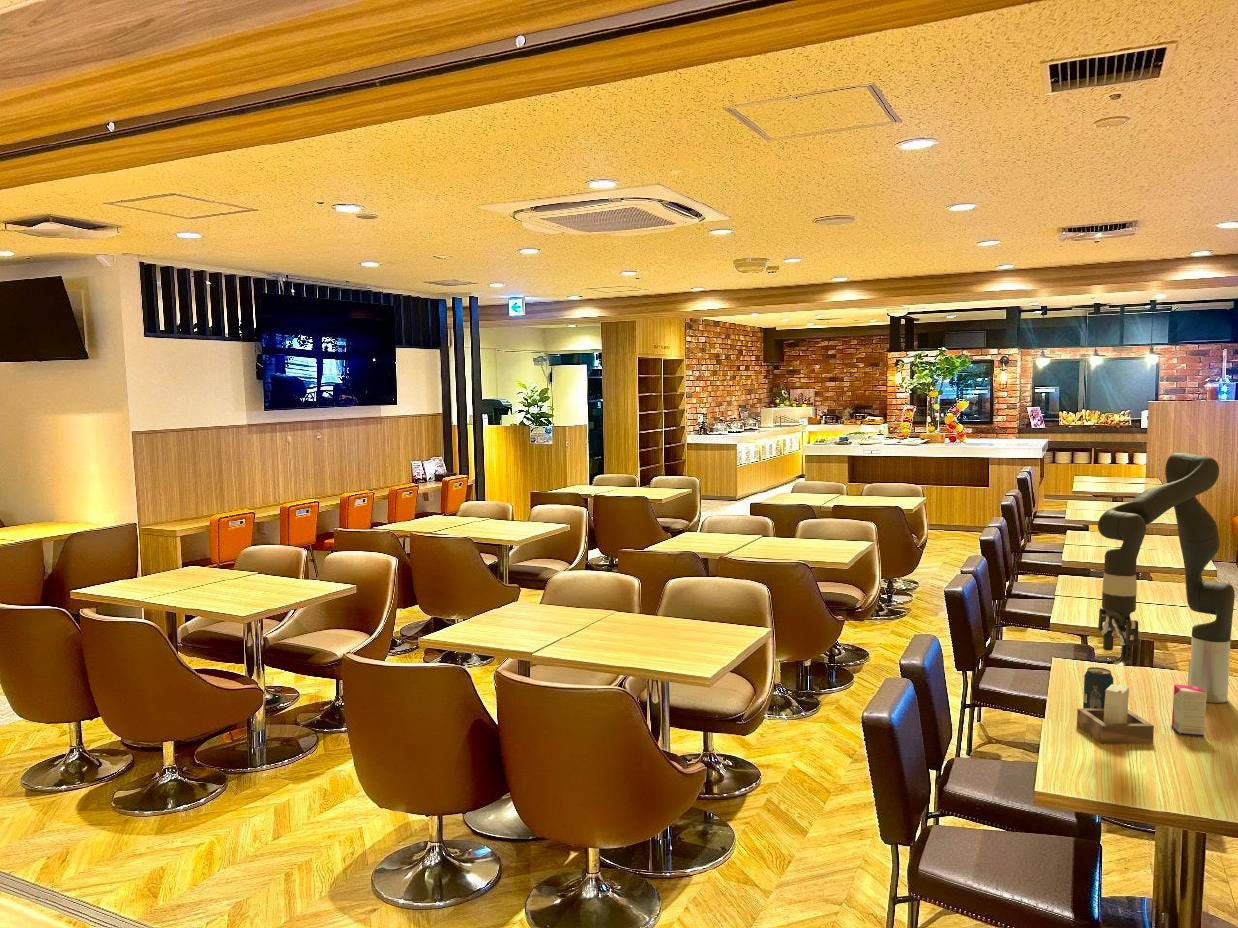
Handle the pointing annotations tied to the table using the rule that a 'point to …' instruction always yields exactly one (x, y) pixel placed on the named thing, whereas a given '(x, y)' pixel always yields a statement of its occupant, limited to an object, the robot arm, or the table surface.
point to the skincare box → (1116, 704)
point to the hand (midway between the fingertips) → (1116, 654)
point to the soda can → (1096, 687)
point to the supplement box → (1189, 710)
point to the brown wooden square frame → (1115, 728)
